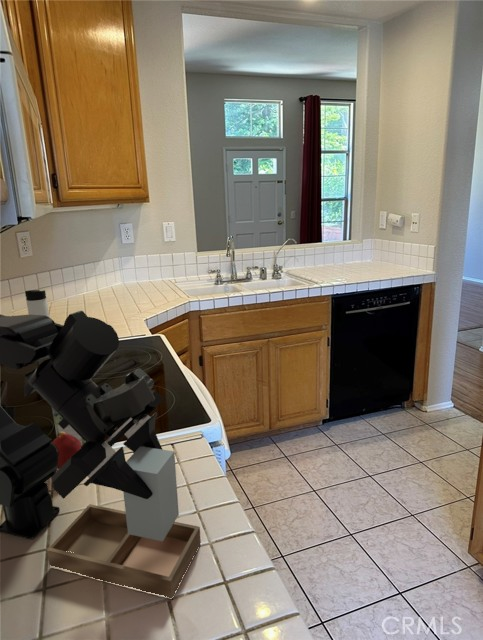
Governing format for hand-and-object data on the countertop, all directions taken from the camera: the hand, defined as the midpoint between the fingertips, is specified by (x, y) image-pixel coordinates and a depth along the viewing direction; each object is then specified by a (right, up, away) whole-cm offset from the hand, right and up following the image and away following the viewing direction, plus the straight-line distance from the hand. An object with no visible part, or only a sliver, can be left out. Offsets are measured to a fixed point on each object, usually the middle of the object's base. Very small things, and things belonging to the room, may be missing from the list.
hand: (159, 483), depth 56 cm
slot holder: (-5, -12, +4) cm, 14 cm away
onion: (-22, -7, +24) cm, 33 cm away
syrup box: (-24, -4, +34) cm, 42 cm away
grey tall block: (-1, -6, +2) cm, 7 cm away
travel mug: (-59, +12, +95) cm, 113 cm away
